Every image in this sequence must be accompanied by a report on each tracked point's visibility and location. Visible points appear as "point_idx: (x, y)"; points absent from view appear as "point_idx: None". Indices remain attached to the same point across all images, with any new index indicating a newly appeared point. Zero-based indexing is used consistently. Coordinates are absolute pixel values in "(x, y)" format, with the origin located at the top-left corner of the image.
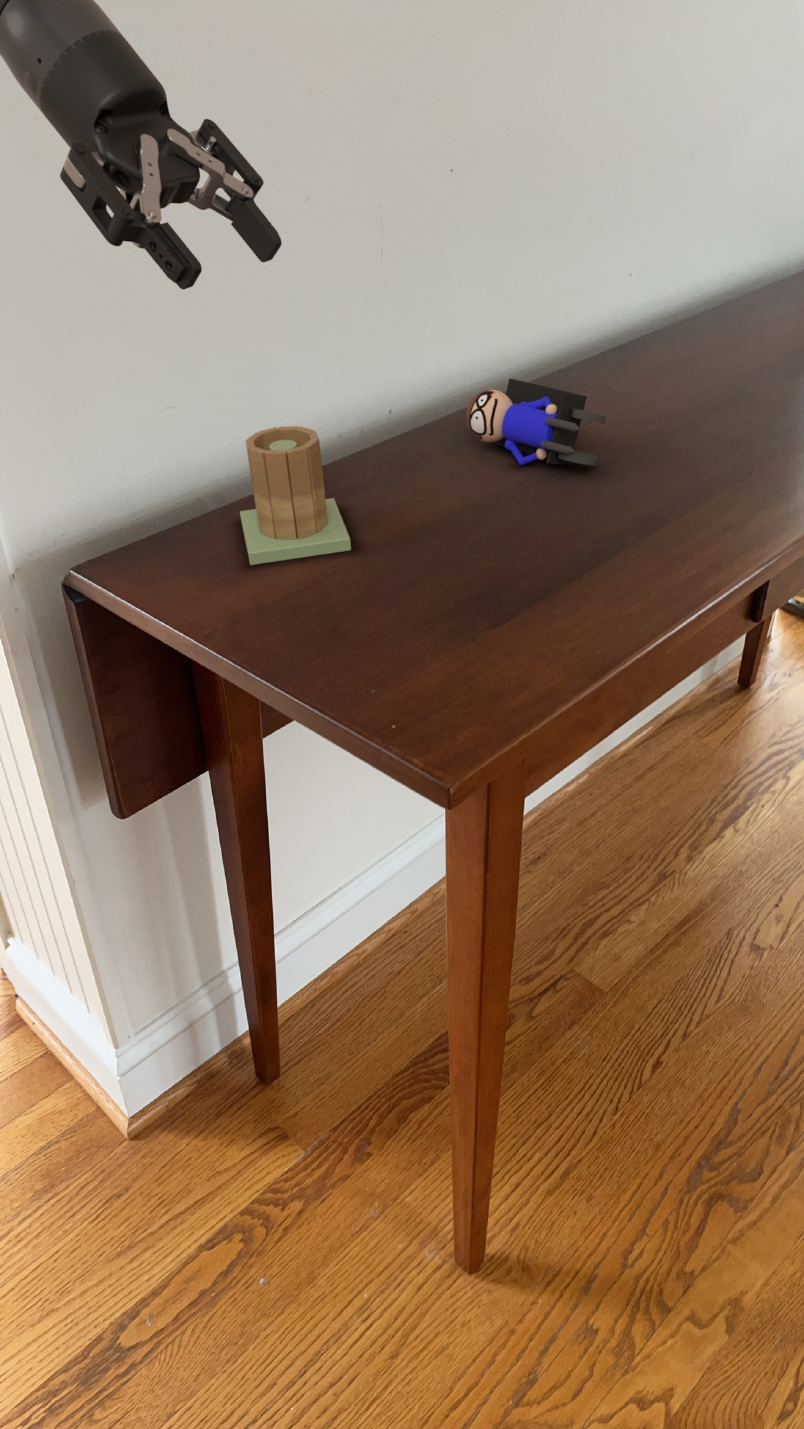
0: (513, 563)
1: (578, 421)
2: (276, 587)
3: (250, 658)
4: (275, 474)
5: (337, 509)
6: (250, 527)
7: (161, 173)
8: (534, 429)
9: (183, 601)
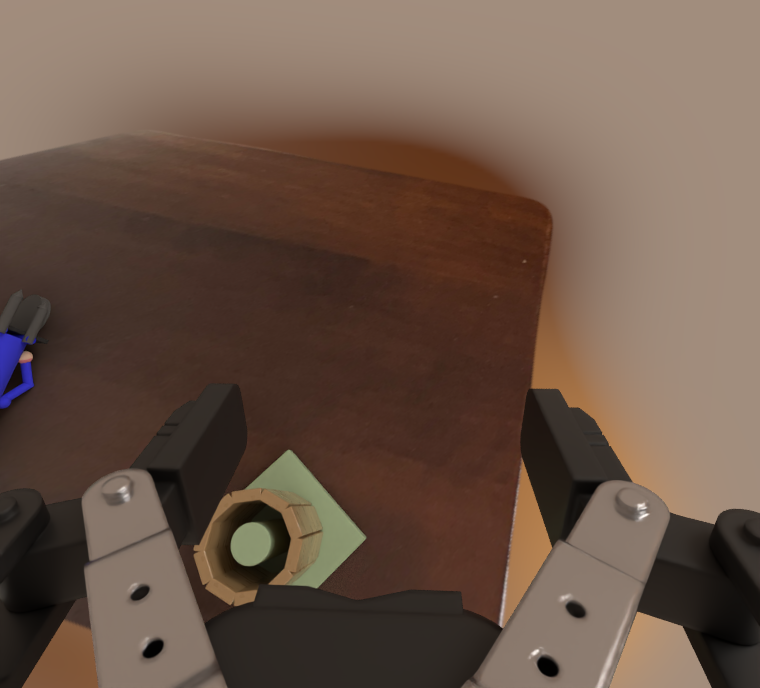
0: (258, 294)
1: None
2: (393, 477)
3: (512, 415)
4: (304, 522)
5: None
6: (307, 583)
7: (450, 658)
8: (5, 353)
9: (465, 556)
